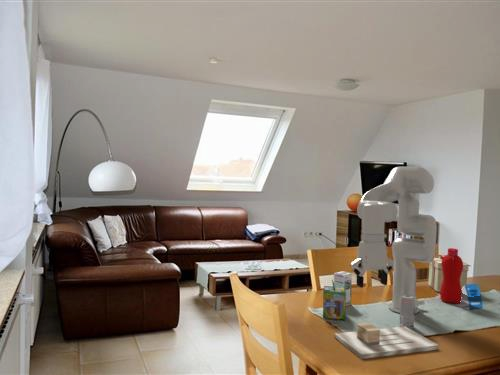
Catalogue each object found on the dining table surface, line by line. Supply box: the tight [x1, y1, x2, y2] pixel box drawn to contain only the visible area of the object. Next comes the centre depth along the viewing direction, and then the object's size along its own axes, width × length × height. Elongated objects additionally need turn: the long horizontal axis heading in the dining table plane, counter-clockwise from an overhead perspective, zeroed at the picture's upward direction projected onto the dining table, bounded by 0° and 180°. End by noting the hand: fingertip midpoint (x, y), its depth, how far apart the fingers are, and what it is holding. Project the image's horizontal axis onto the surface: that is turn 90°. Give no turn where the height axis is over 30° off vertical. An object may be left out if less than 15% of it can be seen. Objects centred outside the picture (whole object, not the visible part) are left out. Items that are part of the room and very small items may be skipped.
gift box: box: [427, 254, 471, 293], centre depth 223 cm, size 17×18×17 cm
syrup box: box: [333, 270, 353, 307], centre depth 194 cm, size 6×6×14 cm
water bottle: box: [439, 247, 463, 304], centre depth 201 cm, size 9×11×25 cm
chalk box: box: [322, 279, 347, 321], centre depth 178 cm, size 9×9×15 cm
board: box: [334, 326, 440, 360], centre depth 151 cm, size 30×18×2 cm, turn 107°
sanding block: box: [356, 322, 380, 346], centre depth 149 cm, size 7×4×5 cm, turn 17°
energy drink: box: [398, 295, 415, 330], centre depth 167 cm, size 5×5×12 cm
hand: (371, 285), depth 153 cm, fingers open, 9 cm apart
